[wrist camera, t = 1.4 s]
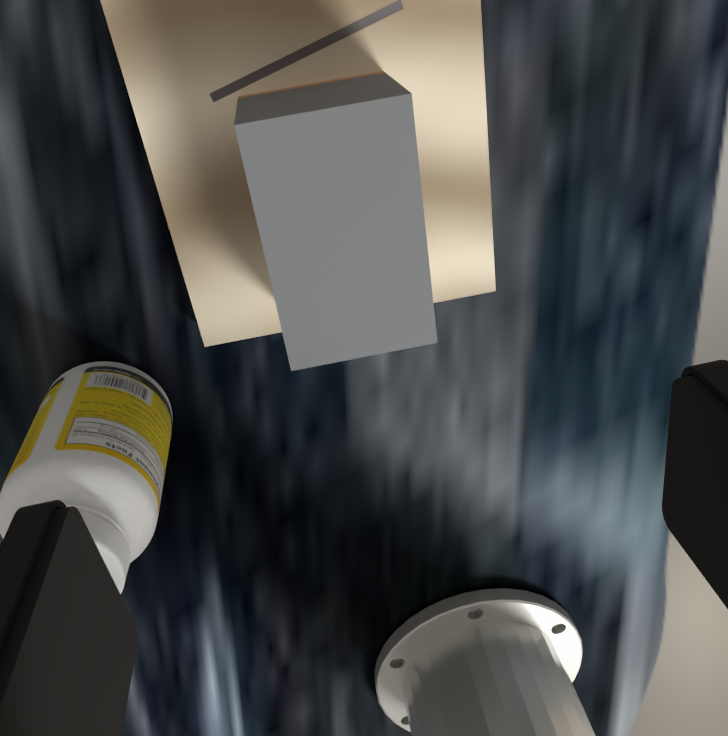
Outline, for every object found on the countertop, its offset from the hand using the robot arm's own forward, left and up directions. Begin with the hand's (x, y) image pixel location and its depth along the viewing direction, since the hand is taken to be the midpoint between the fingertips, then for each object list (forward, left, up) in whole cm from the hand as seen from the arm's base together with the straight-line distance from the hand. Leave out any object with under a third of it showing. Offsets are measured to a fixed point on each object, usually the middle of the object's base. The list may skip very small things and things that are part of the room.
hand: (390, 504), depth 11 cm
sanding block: (0, -1, -17) cm, 17 cm away
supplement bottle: (-8, +10, -19) cm, 23 cm away
